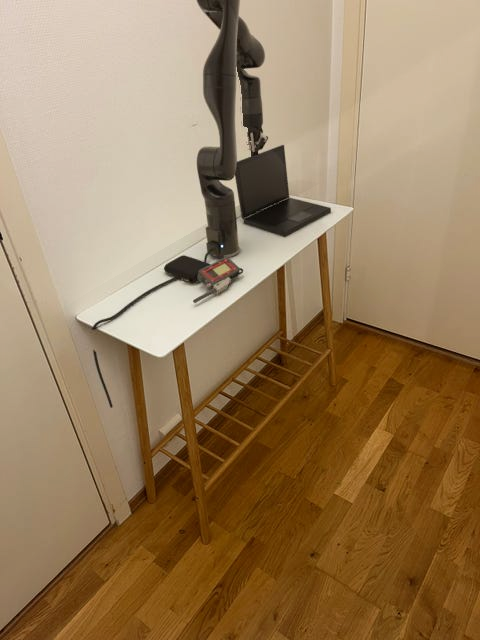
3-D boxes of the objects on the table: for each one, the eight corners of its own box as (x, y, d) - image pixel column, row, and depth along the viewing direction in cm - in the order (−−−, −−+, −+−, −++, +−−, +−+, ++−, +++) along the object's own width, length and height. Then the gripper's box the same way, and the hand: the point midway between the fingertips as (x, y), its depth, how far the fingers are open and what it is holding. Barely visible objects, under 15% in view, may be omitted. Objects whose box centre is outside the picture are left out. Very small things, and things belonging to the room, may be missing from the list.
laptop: (330, 212, 167) (330, 207, 166) (284, 236, 153) (284, 231, 152) (289, 201, 180) (289, 197, 179) (243, 223, 166) (243, 218, 165)
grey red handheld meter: (249, 272, 131) (196, 301, 120) (246, 282, 134) (194, 311, 123) (229, 253, 133) (176, 280, 123) (226, 263, 137) (174, 290, 126)
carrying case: (159, 274, 139) (193, 287, 130) (157, 266, 137) (191, 278, 129) (184, 260, 145) (217, 272, 137) (182, 252, 143) (216, 263, 135)
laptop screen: (284, 144, 168) (282, 144, 169) (234, 163, 154) (232, 162, 155) (289, 197, 179) (287, 197, 179) (243, 218, 165) (241, 218, 165)
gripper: (230, 111, 157) (234, 161, 167) (258, 115, 149) (260, 167, 159) (245, 106, 161) (248, 155, 172) (273, 110, 153) (274, 161, 164)
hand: (254, 161), depth 165 cm, fingers closed
